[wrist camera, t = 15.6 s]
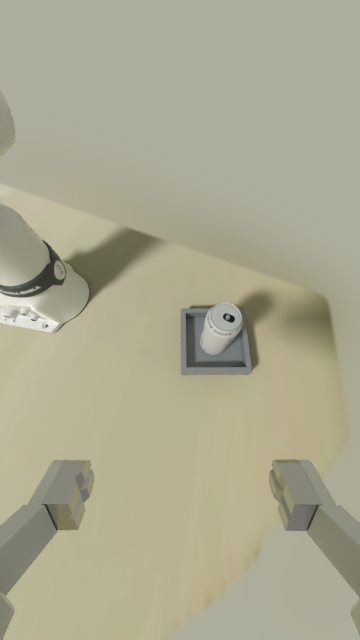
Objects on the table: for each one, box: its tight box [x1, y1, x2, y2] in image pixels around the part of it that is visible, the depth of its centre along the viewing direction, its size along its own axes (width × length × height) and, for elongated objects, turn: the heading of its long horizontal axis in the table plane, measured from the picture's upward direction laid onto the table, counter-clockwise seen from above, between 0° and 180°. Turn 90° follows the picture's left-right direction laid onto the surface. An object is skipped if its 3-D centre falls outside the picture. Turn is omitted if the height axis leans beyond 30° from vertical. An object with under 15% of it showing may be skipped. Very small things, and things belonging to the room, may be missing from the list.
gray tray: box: [181, 308, 252, 375], centre depth 45 cm, size 14×14×4 cm
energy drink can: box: [200, 303, 243, 355], centre depth 39 cm, size 6×6×15 cm
